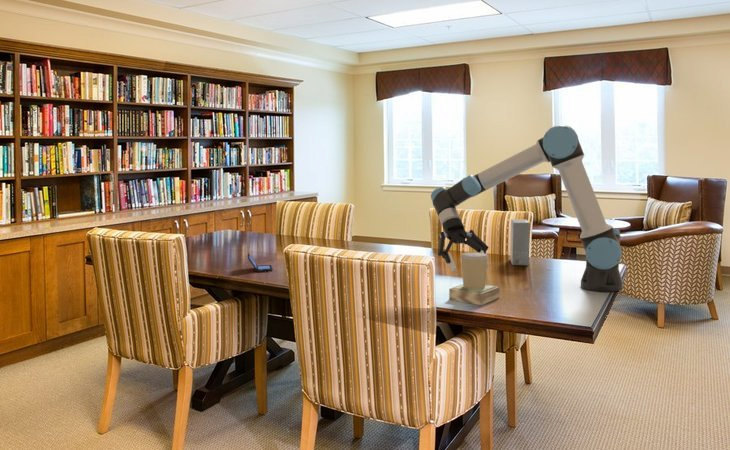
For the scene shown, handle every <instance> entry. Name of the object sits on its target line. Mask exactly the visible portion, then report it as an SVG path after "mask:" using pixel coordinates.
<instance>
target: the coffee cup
mask: <svg viewBox="0 0 730 450" xmlns="http://www.w3.org/2000/svg"><path fill="white" fill-rule="evenodd" d="M460 257H461V270H462V271H461V272H462V284H463V287H464V288H467V289H483V288H485V285H486V279H487V269H488V268H487V260H488V254H487V253H486V254H485V253H479V252H477V251H476V252H475V251H473V252H472V251H468V252H464V253H463V252H462V254H461V256H460Z"/></svg>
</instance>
